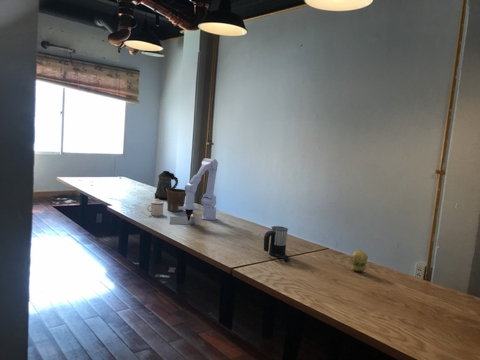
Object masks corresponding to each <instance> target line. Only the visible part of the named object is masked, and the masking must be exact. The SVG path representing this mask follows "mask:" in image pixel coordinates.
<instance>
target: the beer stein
mask: <svg viewBox="0 0 480 360" xmlns="http://www.w3.org/2000/svg"><path fill="white" fill-rule="evenodd" d="M172 181H175V183H174V185H173V186H172ZM178 184H179V179H178V177H177V176H175V174H174V173H172V172H170V170H163V171H162V172H161V173H160V174H159V175H158V182H157V188H156V189H155V193H154V199H155V200H156V199H159V200H160V201H167V191H166V189H177V186H178Z"/></svg>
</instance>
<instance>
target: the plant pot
mask: <svg viewBox="0 0 480 360" xmlns="http://www.w3.org/2000/svg"><path fill="white" fill-rule="evenodd" d="M166 191H167V200H166V202H167V203H166V205H167V206H166V207H167V208H166V209H167V210H168V212H173V213H177V212H179V213H180V212H183V211H184V210H179V207H185V203H186V193H185V189H184V188H183V189H182V188H175V189H166Z"/></svg>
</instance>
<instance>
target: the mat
mask: <svg viewBox="0 0 480 360" xmlns="http://www.w3.org/2000/svg"><path fill="white" fill-rule="evenodd" d="M194 217H195V216H194ZM200 224H201V223H200V221H199V217H195V220H194V225H193V226H201V225H200ZM169 225H176V226H177V225H183V226H192V225H191V223H190V220H189V221H188V218H187V216H174V215H173V216H170V217H169Z"/></svg>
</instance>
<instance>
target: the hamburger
mask: <svg viewBox="0 0 480 360" xmlns="http://www.w3.org/2000/svg"><path fill="white" fill-rule="evenodd" d="M351 258H352V262H351V263H352V264H351V265H352V266H351V268H350V269H351V270H352V271H356V272H364V271H365V270H366V266H367V265H366V264H367V262H368V260H369V257H368V255H367V253H366V252H364V251H363V249H361V250H358V249H357V250H354V251H353V252H352V254H351Z"/></svg>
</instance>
